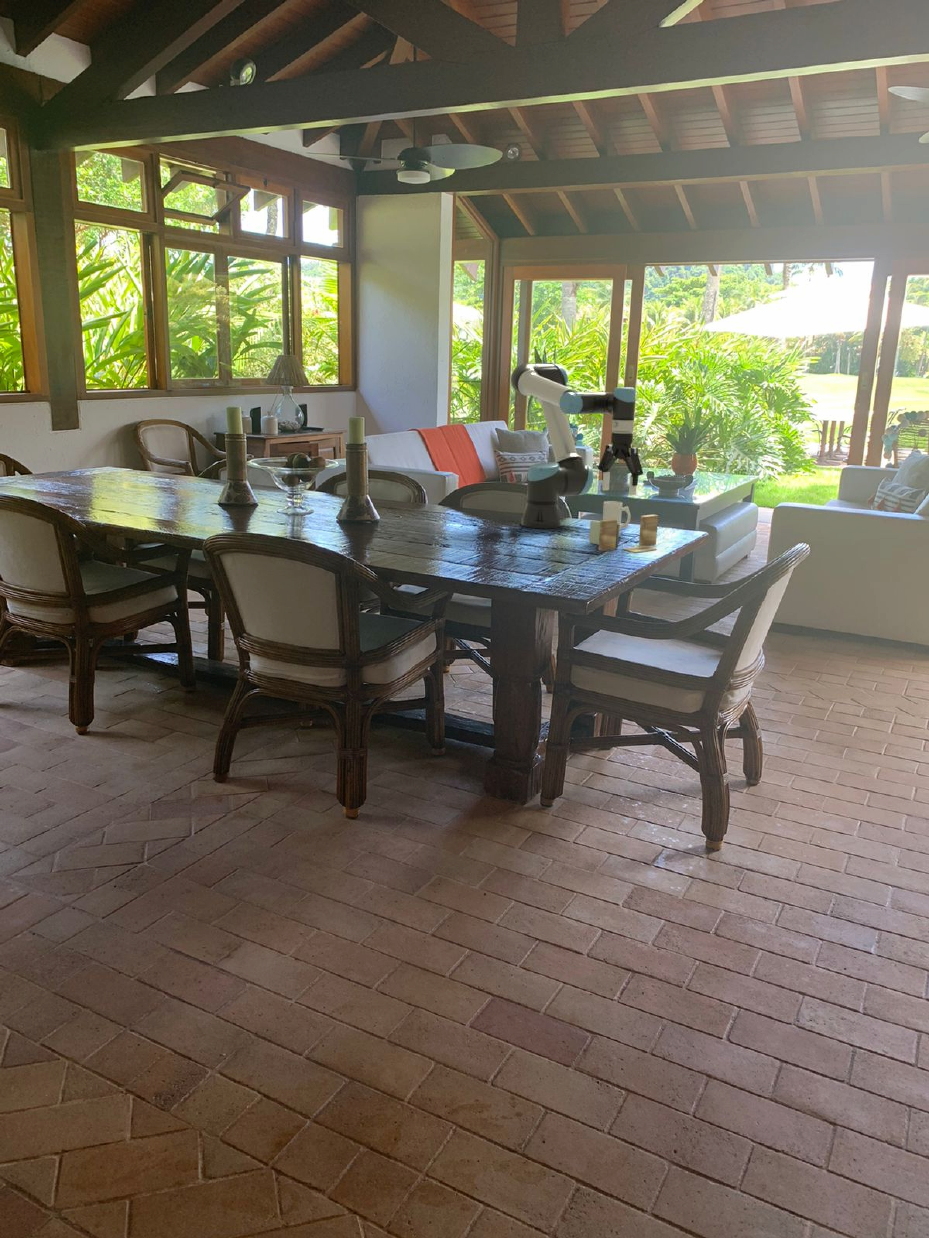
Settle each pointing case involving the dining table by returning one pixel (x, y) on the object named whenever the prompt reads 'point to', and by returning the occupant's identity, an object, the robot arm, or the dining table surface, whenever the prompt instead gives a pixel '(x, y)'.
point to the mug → (615, 513)
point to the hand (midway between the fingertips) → (618, 492)
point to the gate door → (596, 532)
